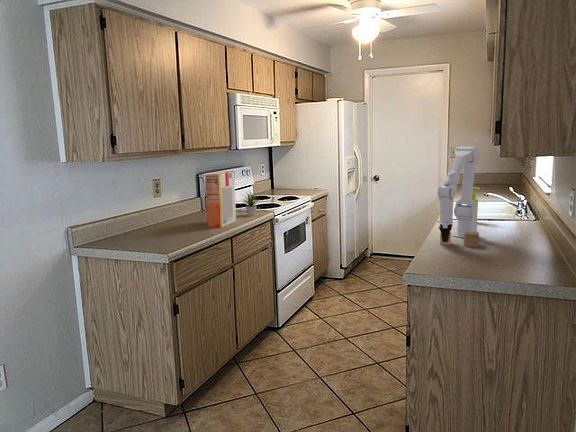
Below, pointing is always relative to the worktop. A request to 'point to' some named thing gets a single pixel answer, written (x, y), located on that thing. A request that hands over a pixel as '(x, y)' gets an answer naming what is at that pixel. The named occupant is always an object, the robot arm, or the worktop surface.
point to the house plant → (251, 204)
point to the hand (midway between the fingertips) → (445, 240)
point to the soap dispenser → (475, 199)
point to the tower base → (470, 243)
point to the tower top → (471, 236)
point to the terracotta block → (445, 242)
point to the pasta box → (220, 198)
